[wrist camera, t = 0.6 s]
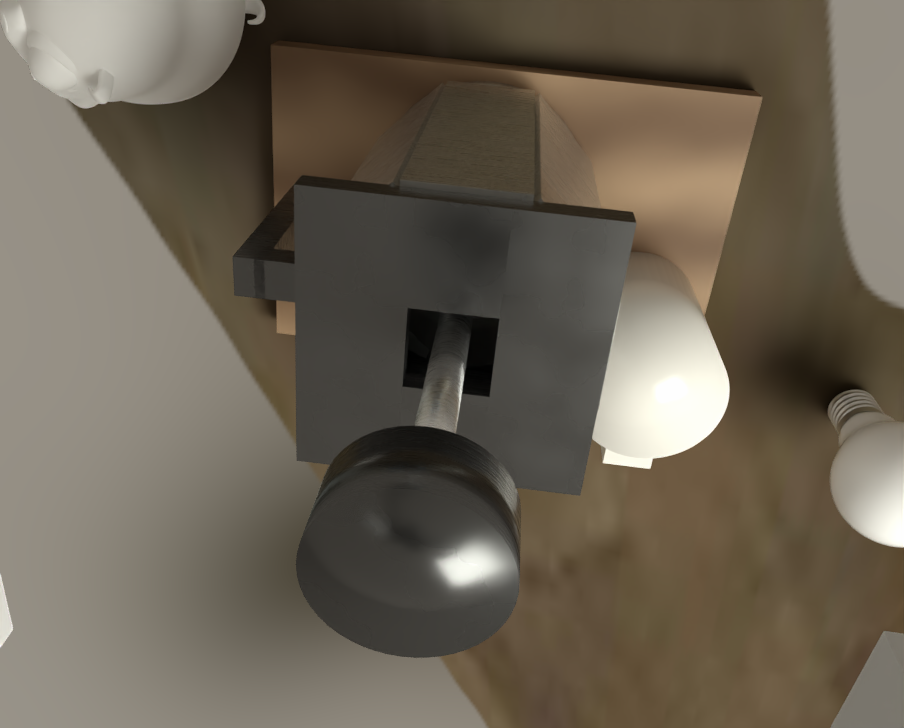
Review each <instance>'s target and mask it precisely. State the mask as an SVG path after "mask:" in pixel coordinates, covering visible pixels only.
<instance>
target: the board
mask: <svg viewBox="0 0 904 728" xmlns="http://www.w3.org/2000/svg"><path fill="white" fill-rule="evenodd" d="M447 81H455V82H471V81H493V82H499V83H504V84H509V85H512V86H515V87H518V88H521V89H530V90H535V96H536V95H537V94H539V93H540V94H541V95H542V97H543V98H544V99H545V100H546V102H547V103H548V104H549V106H550V107H551V108H552V109H553V110H554V111H556V112H557V114H558V115H559V116H560V117H561V118H562V119H563V121H564V122H565V123H566V125H567V126H568V128H569V129H570V131H571V132H572V134H573V136H574V138H575V140H576V141H577V143H578V144H579V145H580V147H581V148H582V149H583V151H584V152H585V153H586V155H587V156H588V157H589V159H590V160H591V163H592V167H593V172H594V177H595V181H596V186H597V191H598V196H599V201H600V205H601V208H603V209H612V210H621V211H630V212H633V213H634V216H635V219H636V228H635V233H634V238H633V243H632V247H631V252H644V253H650V254H654V255H657V256H660V257H663V258H665V259H667V260H669V261H670V262H672V263H673V264H675V265H676V266H677V267H678V268H680V269H681V270H682V271H683V273H684V274H685V275H686V276H687V278H688V279H689V281H690V283H691V285H692V287H693V289H694V292H695V294H696V297H697V299H698V302H699V304H700V307H701V309H702V312H703V314H704V316H705V312H706V308H707V305H708V301H709V297H710V293H711V290H712V286H713V282H714V278H715V275H716V271H717V267H718V263H719V260H720V256H721V252H722V248H723V244H724V241H725V237H726V233H727V229H728V226H729V222H730V218H731V214H732V211H733V207H734V203H735V199H736V196H737V192H738V188H739V184H740V181H741V177H742V173H743V169H744V166H745V162H746V158H747V154H748V151H749V147H750V143H751V139H752V136H753V132H754V128H755V124H756V120H757V117H758V113H759V109H760V105H761V102H762V98H763V97H762V96H761V95H760V94H759V93H757V92H756V91H752V90H743V89H733V88H724V87H715V86H705V85H696V84H686V83H677V82H667V81H658V80H649V79H639V78H630V77H620V76H611V75H602V74H592V73H583V72H573V71H564V70H554V69H545V68H536V67H526V66H517V65H507V64H498V63H488V62H479V61H470V60H460V59H451V58H441V57H432V56H422V55H413V54H404V53H394V52H385V51H375V50H366V49H356V48H347V47H338V46H328V45H319V44H309V43H300V42H290V41H281V40H278V41H277V42H275V43H273V44H271V86H272V130H273V174H274V207H275V206H276V205H277V203H278V202H279V201H280V200H281V199H282V198H283V196H284V195H285V194H286V193H287V192H288V190H289V189H290V188H291V187H292V186H293V185H294V183H295V182H296V181H297V180H298V179H299V178H300V177H301V176H302V175H307V176H316V177H325V178H334V179H343V180H351V179H352V178H353V176H354V175H355V173H356V172H357V170H358V169H359V167H360V166H361V164H362V163H363V161H364V160H365V158H366V157H367V155H368V154H369V152H370V150H371V149H372V147H373V146H374V144H375V143H376V141H377V140H378V138H379V137H380V136H381V135H382V134H384V133H385V132H386V131H387V130H388V129H389V128H390V127H392V126H393V125H394V124H395V123H396V122H397V121H399V120H400V119H401V118H402V116H403V115H404V114H405V113H406V112H407V111H408V110H409V109H410V108H411V107H412V106H413V105H415V104H416V103H417V102H419V101H420V100H421V99H423V98H424V97H426V96H427V95H429V94H430V93H431V92H432V91H433V90H434V89H436V88H437V87H438V86H439V85H440V84H441V83H444V84H445V85H446V83H447ZM276 307H277V333H283V334H291V335H295V302H287V301H278V300H276Z"/></svg>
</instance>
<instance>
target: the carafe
mask: <svg viewBox="0 0 904 728" xmlns="http://www.w3.org/2000/svg"><path fill="white" fill-rule="evenodd" d="M635 228H636V219H635V216H634V213H633V212H630V211H621V210H612V209H603V208H601V205H600V201H599V196H598V191H597V186H596V181H595V177H594V172H593V167H592V163H591V160H590V159H589V157H588V156H587V155H586V153H585V152H584V151H583V149H582V148H581V147H580V145H579V144H578V143H577V141H576V140H575V138H574V136H573V134H572V132H571V131H570V129H569V128H568V126H567V125H566V123H565V122H564V121H563V119H562V118H561V117H560V116H559V115H558V114H557V112H556V111H554V110H553V109H552V108H551V107H550V106H549V104H548V103H547V102H546V100H545V99H544V98H543V97H542V95H541V94H540V93H539V94H537V95H536V96H535V90H530V89H521V88H518V87H515V86H512V85H509V84H504V83H499V82H493V81H471V82H455V81H447V83H446V85H445V84H444V83H441V84H440V85H439V86H438V87H437V88H436V89H434V90H433V91H432V92H431V93H430V94H429V95H427V96H426V97H424V98H423V99H421V100H420V101H419V102H417V103H416V104H415V105H413V106H412V107H411V108H410V109H409V110H408V111H407V112H406V113H405V114H404V115H403V116H402V118H401V119H400V120H399V121H397V122H396V123H395V124H394V125H393V126H392V127H390V128H389V129H388V130H387V131H386V132H385V133H384V134H382V135H381V136H380V137H379V138H378V140H377V141H376V143H375V144H374V146H373V147H372V149H371V150H370V152H369V154H368V155H367V157H366V158H365V160H364V161H363V163H362V164H361V166H360V167H359V169H358V170H357V172H356V173H355V175H354V176H353V178H352V179H351V180H343V179H334V178H325V177H316V176H307V175H302V176H301V177H300V178H299V179H298V180H297V181H296V182H295V183H294V185H293V186H292V187H291V188H290V189H289V190H288V192H287V193H286V194H285V195H284V196H283V198H282V199H281V200H280V201H279V202H278V203H277V205H276V206H275V207H274V208H273V209H272V211H271V212H270V213H269V214H268V215H267V216H266V218H265V219H264V220H263V221H262V222H261V224H260V225H259V226H258V227H257V228H256V230H255V231H254V232H253V233H252V234H251V235H250V237H249V238H248V239H247V240H246V241H245V243H244V244H243V245H242V246H241V247H240V248H239V250H238V251H237V252H236V253H235V254H234V256H233V275H234V295H235V296H244V297H253V298H261V299H270V300H278V301H287V302H295V342H296V442H297V461H305V462H313V463H321V464H329V465H330V464H331V463H332V461H333V460H334V458H335V457H336V456H337V455H338V454H339V453H340V452H341V451H342V450H343V449H344V448H345V447H347V446H348V445H349V444H350V443H352V442H354V441H355V440H357V439H359V438H360V437H362V436H365V435H367V434H369V433H372V432H375V431H378V430H382V429H385V428H391V427H397V426H414V425H415V421H416V417H417V412H418V408H419V404H420V399H421V395H422V391H423V386H424V382H425V378H426V373H427V369H428V365H429V359H427V358H424V357H422V356H420V355H417V354H416V353H414V352H412V351H410V350H409V349H408V340H409V325H410V311H411V308H412V309H420V310H429V311H437V312H446V313H455V314H463V315H472V316H480V317H489V318H497V319H499V322H498V330H497V338H496V346H495V354H494V362H493V364H490V365H484V366H473V367H466V369H465V375H464V382H463V389H462V395H461V402H460V409H459V415H458V422H457V429H456V434H458V435H461V436H463V437H465V438H468V439H469V440H471V441H473V442H475V443H477V444H478V445H480V446H481V447H483V448H484V449H486V450H487V451H488V452H490V453H491V454H492V455H493V456H494V457H495V458H496V459H497V460H498V461H499V462H500V463H501V464H502V465H503V467H504V468H505V469H506V470H507V472H508V473H509V475H510V477H511V478H512V480H513V482H514V484H515V486H516V488H523V489H531V490H539V491H547V492H555V493H563V494H571V495H580V493H581V489H582V484H583V479H584V474H585V469H586V465H587V460H588V455H589V450H590V445H591V440H592V436H593V431H594V426H595V421H596V416H597V411H598V410H599V406H600V401H601V396H602V391H603V386H604V382H605V377H606V372H607V367H608V362H609V358H610V353H611V348H612V343H613V338H614V334H615V329H616V324H617V319H618V314H619V309H620V305H621V296H622V291H623V286H624V281H625V276H626V272H627V267H628V262H629V257H630V252H631V247H632V243H633V238H634V233H635Z"/></svg>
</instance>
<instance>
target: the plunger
mask: <svg viewBox="0 0 904 728" xmlns="http://www.w3.org/2000/svg"><path fill="white" fill-rule="evenodd" d="M498 322H499V319H497V318H489V317H480V316H472V315H463V314H455V313H446V312H437V311H429V310H420V309H412V308H411V311H410V325H409V340H408V349H409V350H410V351H412V352H414V353H416V354H417V355H420V356H422V357H424V358H427V359H429V365H428V369H427V373H426V378H425V382H424V386H423V391H422V395H421V399H420V404H419V408H418V412H417V417H416V421H415V425H414V426H397V427H391V428H385V429H382V430H378V431H375V432H372V433H369V434H367V435H365V436H362V437H360V438H359V439H357V440H355V441H354V442H352V443H350V444H349V445H348V446H347V447H345V448H344V449H343V450H342V451H341V452H340V453H339V454H338V455H337V456H336V457H335V458H334V460H333V461H332V463H331V464H330V466H329V467H328V469H327V471H326V474H325V476H324V478H323V481H322V484H321V487H320V489H319V492H318V495H317V498H316V500H315V503H314V506H313V508H312V511H311V514H310V517H309V519H308V522H307V525H306V527H305V530H304V533H303V536H302V538H301V541H300V544H299V548H298V552H297V560H296V570H297V577H298V581H299V585H300V588H301V590H302V592H303V595H304V597H305V598H306V600H307V602H308V603H309V605H310V607H311V608H312V609H313V610H314V611H315V613H316V614H317V615H318V616H319V617H320V618H321V619H322V620H323V621H324V622H325V623H326V624H327V625H328V626H329V627H331V628H332V629H333V630H335V631H336V632H337V633H339V634H340V635H342V636H344V637H346V638H347V639H349V640H351V641H353V642H355V643H357V644H359V645H361V646H364V647H366V648H369V649H372V650H374V651H378V652H382V653H385V654H391V655H396V656H402V657H414V658H416V657H437V656H444V655H449V654H454V653H457V652H460V651H464V650H467V649H469V648H471V647H473V646H476V645H478V644H479V643H481V642H483V641H484V640H486V639H488V638H489V637H490V636H492V635H493V634H494V633H495V632H497V631H498V630H499V629H500V628H501V627H502V625H503V624H504V623H505V622H506V621H507V619H508V618H509V616H510V615H511V613H512V611H513V609H514V607H515V604H516V601H517V597H518V593H519V578H520V537H521V505H520V499H519V495H518V491H517V489H516V486H515V484H514V482H513V480H512V478H511V477H510V475H509V473H508V472H507V470H506V469H505V468H504V467H503V465H502V464H501V463H500V462H499V461H498V460H497V459H496V458H495V457H494V456H493V455H492V454H491V453H490V452H488V451H487V450H486V449H484V448H483V447H481V446H480V445H478V444H477V443H475V442H473V441H471V440H469V439H468V438H465V437H463V436H461V435H458V434H456V429H457V422H458V415H459V409H460V402H461V395H462V389H463V382H464V375H465V369H466V367H473V366H484V365H490V364H493V362H494V354H495V346H496V338H497V330H498Z"/></svg>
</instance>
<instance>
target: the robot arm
mask: <svg viewBox="0 0 904 728" xmlns="http://www.w3.org/2000/svg"><path fill="white" fill-rule="evenodd" d="M12 630H13V626H12V621H11V617H10V613H9V609H8V604H7V600H6V596H5V591H4V587H3V583H2V579H1V574H0V647H1V646H2V645H3V643H4V641H5V640H6V639H7V637H8V636H9V634H10V633H11V632H12ZM831 728H904V634H901V633H894V632H888V631H884V632H883V633H882V635H881V637H880V639H879V641H878V642H877V644H876V646H875V648H874V650H873V651H872V653H871V655H870V657H869V659H868V661H867V662H866V664H865V666H864V668H863V670H862V671H861V673H860V675H859V677H858V679H857V680H856V682H855V684H854V686H853V688H852V689H851V691H850V693H849V695H848V697H847V699H846V700H845V702H844V704H843V706H842V708H841V709H840V711H839V713H838V715H837V717H836V718H835V720H834V722H833V724H832V726H831Z"/></svg>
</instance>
